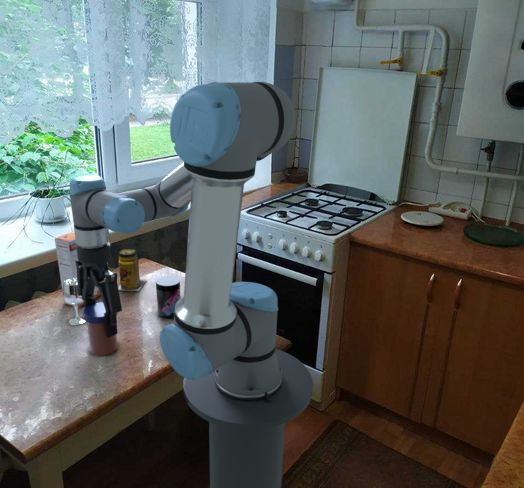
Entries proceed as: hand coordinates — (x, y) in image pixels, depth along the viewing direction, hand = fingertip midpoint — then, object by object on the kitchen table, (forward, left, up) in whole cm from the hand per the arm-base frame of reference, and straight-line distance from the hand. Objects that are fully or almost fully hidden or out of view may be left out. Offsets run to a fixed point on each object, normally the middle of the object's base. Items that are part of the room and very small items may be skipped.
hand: (101, 329), depth 123 cm
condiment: (+25, -27, -6) cm, 37 cm away
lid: (0, 0, +5) cm, 5 cm away
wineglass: (+17, -3, -6) cm, 18 cm away
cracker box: (+28, -13, -6) cm, 31 cm away
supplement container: (+2, -23, -6) cm, 24 cm away
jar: (0, 0, -6) cm, 6 cm away
